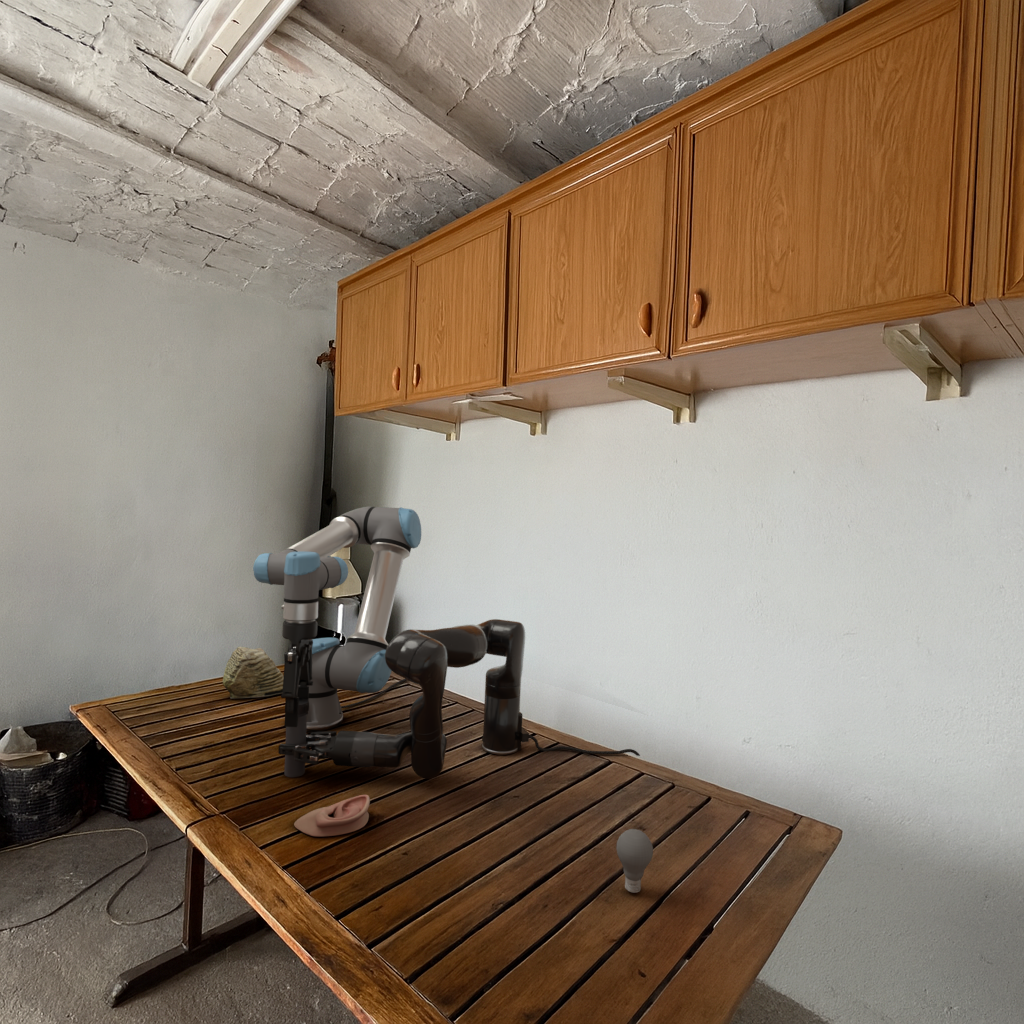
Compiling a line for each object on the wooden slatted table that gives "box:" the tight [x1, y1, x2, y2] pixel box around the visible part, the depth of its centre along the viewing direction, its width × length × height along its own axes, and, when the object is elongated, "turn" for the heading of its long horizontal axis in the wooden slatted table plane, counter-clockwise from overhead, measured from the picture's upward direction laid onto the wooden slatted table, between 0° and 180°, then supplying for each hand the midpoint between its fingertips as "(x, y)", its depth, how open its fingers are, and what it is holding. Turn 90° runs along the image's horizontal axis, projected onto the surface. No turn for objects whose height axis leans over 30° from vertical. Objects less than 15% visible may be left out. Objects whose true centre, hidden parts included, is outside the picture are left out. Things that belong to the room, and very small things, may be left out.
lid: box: [298, 698, 309, 715], centre depth 144 cm, size 5×5×2 cm
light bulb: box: [615, 828, 654, 894], centre depth 106 cm, size 6×6×10 cm
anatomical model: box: [293, 794, 371, 837], centre depth 123 cm, size 13×4×12 cm
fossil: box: [222, 646, 284, 699], centre depth 198 cm, size 9×18×15 cm, turn 132°
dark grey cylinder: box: [283, 713, 307, 778], centre depth 144 cm, size 4×4×16 cm
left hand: (296, 720), depth 144 cm, fingers open, 7 cm apart
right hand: (284, 744), depth 144 cm, fingers closed on dark grey cylinder, 4 cm apart
